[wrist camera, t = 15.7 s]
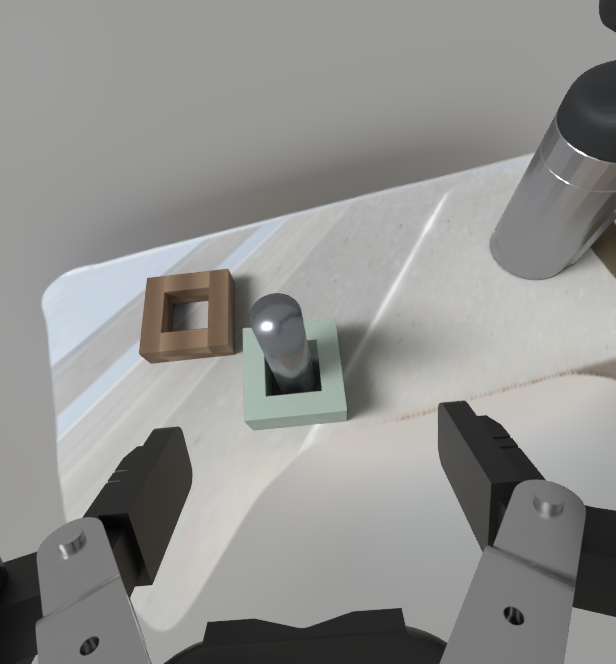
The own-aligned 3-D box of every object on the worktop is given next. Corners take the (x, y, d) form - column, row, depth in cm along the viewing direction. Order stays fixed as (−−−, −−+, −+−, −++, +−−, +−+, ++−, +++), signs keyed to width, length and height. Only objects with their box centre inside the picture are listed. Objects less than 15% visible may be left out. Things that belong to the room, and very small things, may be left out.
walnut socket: (234, 282, 51) (228, 268, 48) (234, 354, 47) (227, 344, 44) (157, 290, 51) (147, 278, 48) (150, 363, 47) (138, 354, 44)
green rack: (335, 335, 47) (335, 318, 42) (346, 421, 42) (347, 410, 38) (251, 344, 47) (242, 328, 43) (253, 430, 43) (243, 420, 39)
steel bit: (313, 363, 45) (299, 290, 31) (316, 397, 44) (303, 337, 29) (278, 367, 45) (248, 296, 31) (280, 401, 44) (249, 343, 29)
